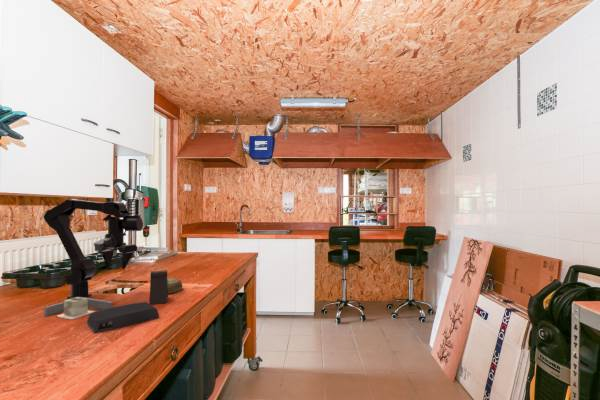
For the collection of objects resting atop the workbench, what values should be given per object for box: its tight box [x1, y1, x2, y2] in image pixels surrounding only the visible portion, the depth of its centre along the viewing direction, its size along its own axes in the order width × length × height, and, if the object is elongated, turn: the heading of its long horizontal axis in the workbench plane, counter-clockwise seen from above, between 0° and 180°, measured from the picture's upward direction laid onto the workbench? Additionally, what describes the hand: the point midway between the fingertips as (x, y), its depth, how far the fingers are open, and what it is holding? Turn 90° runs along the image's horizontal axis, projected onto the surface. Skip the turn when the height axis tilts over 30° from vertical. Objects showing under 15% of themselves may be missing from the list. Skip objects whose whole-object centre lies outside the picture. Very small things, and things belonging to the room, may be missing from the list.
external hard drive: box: [86, 301, 160, 334], centre depth 108 cm, size 13×19×4 cm
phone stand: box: [148, 270, 169, 306], centre depth 129 cm, size 9×6×12 cm, turn 17°
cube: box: [63, 297, 89, 317], centre depth 114 cm, size 5×5×5 cm
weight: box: [167, 277, 183, 294], centre depth 145 cm, size 14×13×5 cm
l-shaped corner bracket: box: [43, 297, 114, 321], centre depth 115 cm, size 17×13×3 cm
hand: (115, 268), depth 136 cm, fingers open, 9 cm apart
